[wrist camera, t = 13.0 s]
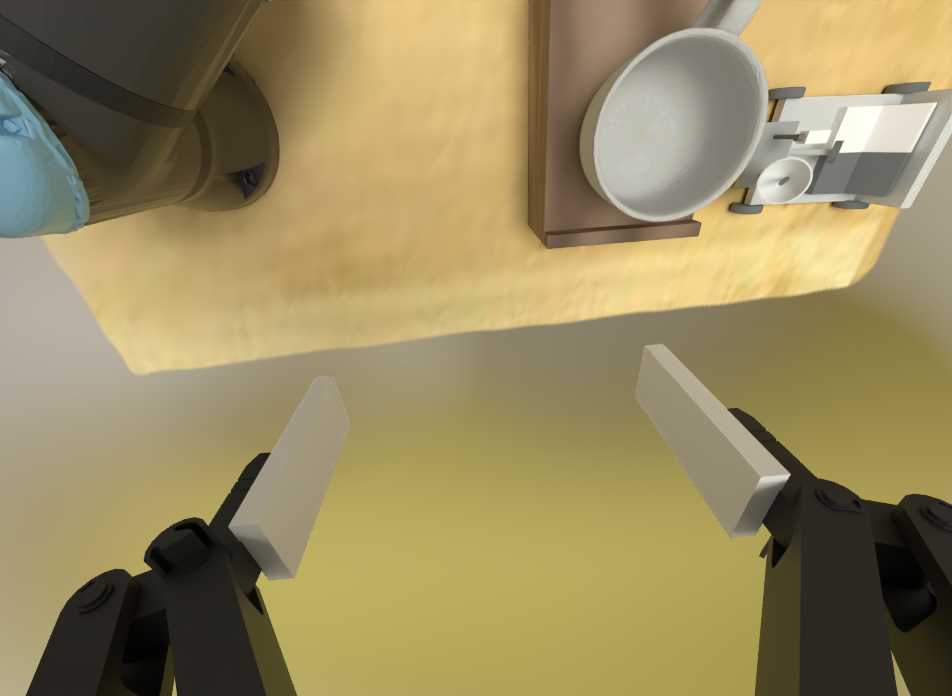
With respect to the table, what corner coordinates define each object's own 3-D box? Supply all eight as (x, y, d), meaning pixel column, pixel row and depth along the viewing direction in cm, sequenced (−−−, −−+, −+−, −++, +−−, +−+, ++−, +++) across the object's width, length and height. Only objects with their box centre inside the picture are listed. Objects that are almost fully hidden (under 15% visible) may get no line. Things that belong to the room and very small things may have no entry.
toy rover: (763, 229, 34) (820, 78, 28) (702, 211, 42) (735, 91, 36) (946, 221, 34) (1041, 69, 28) (849, 204, 42) (907, 85, 36)
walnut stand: (527, 224, 42) (547, 248, 33) (529, -10, 31) (557, -68, 22) (646, 214, 42) (698, 236, 33) (686, -23, 31) (779, -87, 22)
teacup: (633, 226, 33) (678, 249, 26) (539, 162, 30) (563, 170, 23) (756, 63, 27) (856, 39, 20) (655, -37, 24) (733, -105, 17)
